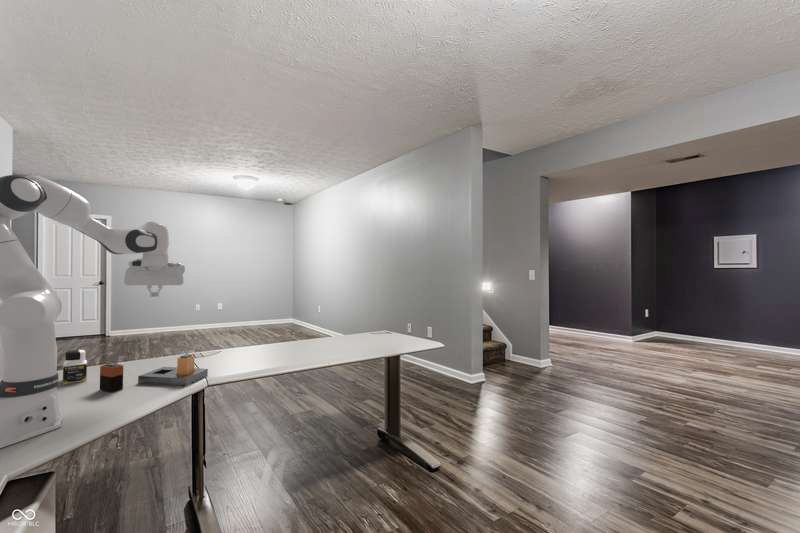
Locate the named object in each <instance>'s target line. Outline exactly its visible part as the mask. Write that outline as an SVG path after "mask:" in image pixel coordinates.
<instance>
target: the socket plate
mask: <svg viewBox="0 0 800 533" xmlns="http://www.w3.org/2000/svg"><path fill="white" fill-rule="evenodd" d="M208 369H209V368H200V367H199V368H196V367H194V372H193V373H191V374H189V375H177V366H176V367H175V366H163V367H159V368H157V369H154V370H151V371H149V372H146V373H145V372H144V373H143V374H140V375H138V377H137V384H140V385H159V386H174V385H187V386H189V385H188V384H190V383H192V382H194V381H196V380H198V381H200V380H202V379H204V378H207V377H208V374H209V373H208V372H209V370H208ZM201 378H202V379H201ZM199 379H200V380H199ZM196 382H197V381H196ZM194 383H195V382H194ZM192 384H193V383H192ZM190 385H191V384H190Z"/></svg>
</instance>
